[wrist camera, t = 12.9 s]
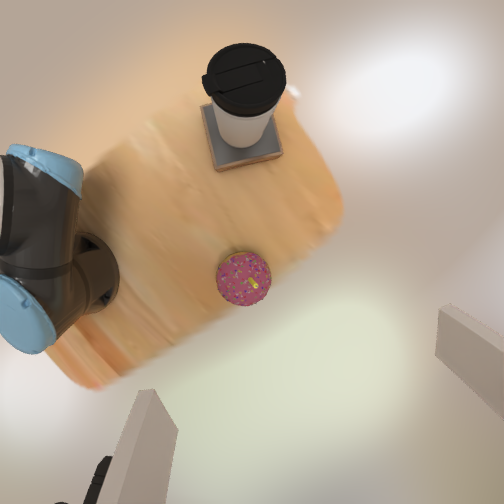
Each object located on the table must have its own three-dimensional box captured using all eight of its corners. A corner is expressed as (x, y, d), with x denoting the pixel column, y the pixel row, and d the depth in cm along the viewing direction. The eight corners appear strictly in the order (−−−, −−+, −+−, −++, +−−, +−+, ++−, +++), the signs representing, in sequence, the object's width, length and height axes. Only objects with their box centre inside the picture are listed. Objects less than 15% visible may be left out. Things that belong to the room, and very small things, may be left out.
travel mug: (210, 117, 36) (189, 54, 17) (253, 102, 36) (270, 30, 17) (226, 156, 38) (218, 120, 18) (270, 139, 37) (303, 93, 18)
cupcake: (242, 236, 46) (245, 251, 35) (278, 270, 48) (292, 295, 36) (207, 272, 47) (199, 298, 35) (243, 304, 49) (246, 338, 37)
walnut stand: (217, 172, 44) (215, 169, 38) (203, 115, 42) (199, 105, 36) (277, 158, 44) (284, 153, 38) (262, 102, 42) (266, 90, 36)
